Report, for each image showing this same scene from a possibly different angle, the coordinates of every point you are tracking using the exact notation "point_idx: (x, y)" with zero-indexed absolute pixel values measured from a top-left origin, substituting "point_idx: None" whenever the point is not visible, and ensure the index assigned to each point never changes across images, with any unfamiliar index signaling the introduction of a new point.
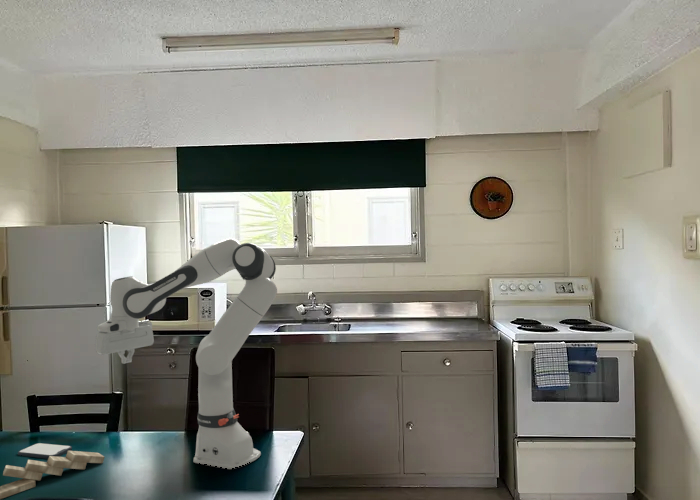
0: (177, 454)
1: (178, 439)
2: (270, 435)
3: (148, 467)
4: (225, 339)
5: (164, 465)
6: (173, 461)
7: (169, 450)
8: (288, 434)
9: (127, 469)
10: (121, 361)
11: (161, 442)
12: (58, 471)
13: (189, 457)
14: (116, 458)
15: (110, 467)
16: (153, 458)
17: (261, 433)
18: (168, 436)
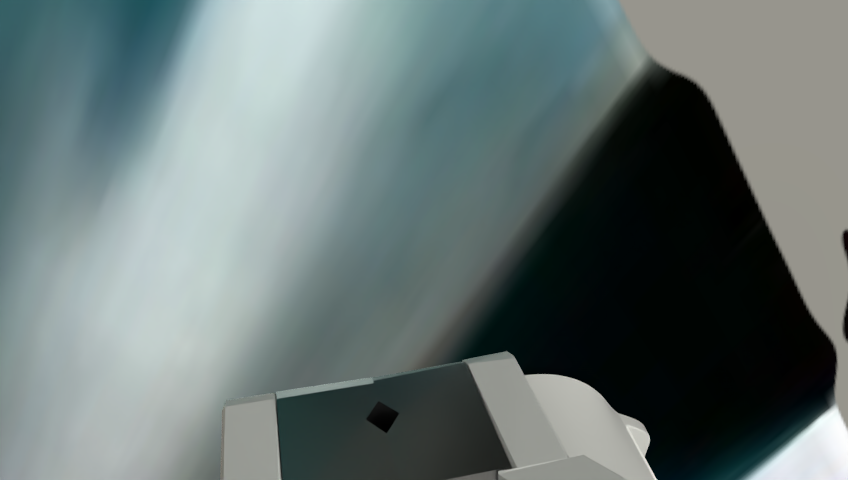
0: (389, 349)
1: (533, 158)
2: (779, 440)
3: (195, 393)
4: None
5: None
6: None
7: (395, 272)
8: (814, 477)
9: (92, 344)
10: (223, 433)
11: (441, 118)
12: None
13: None
14: (96, 143)
15: (15, 251)
16: (272, 309)
17: (787, 398)
18: (534, 53)
